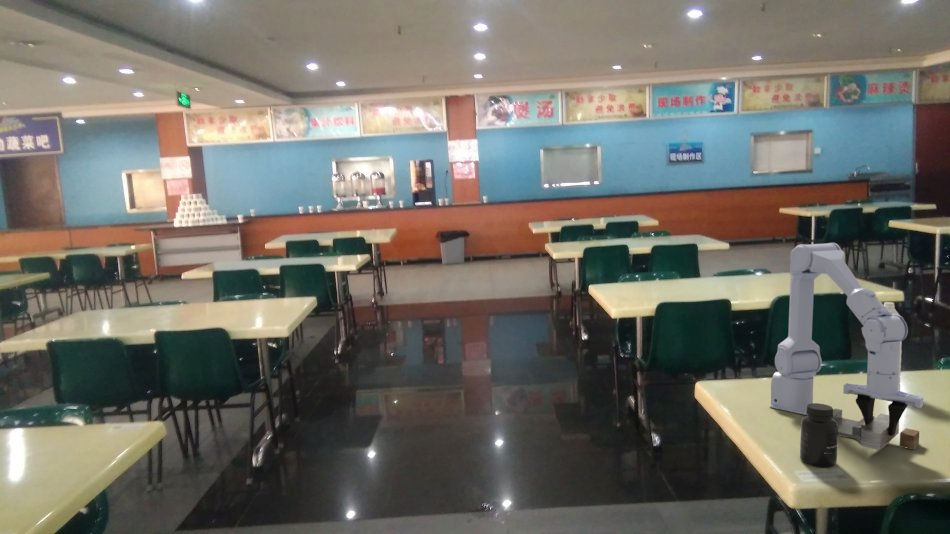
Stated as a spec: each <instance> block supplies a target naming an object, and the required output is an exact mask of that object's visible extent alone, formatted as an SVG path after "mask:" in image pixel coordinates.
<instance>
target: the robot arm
mask: <svg viewBox="0 0 950 534" xmlns="http://www.w3.org/2000/svg"><path fill="white" fill-rule="evenodd" d="M789 255H790V257H789V258H790V260H789V261H790V262H789V275H790V283H789V286H790V287H789V308H788V309H789V310H788V332H787V333H788V334H787V337H786V338H785V339H784V340H783V341H781V342H779V343H778V345H777V352H776V354H775V357H774V366H775V368H776V370H777V371H775V372H774V373H773V375H772V378H771V382H770V404H769V408H772V409H777V410H782V411H785V412H791V413H795V414H800V415H804V416H808V415H807V414H806V411H807V405H808V404H811V403H814V377H817V373H818V372H820V370H821V368H822V363H823V361H822V357H821V356H822V355H821V350H820V349H821V348H820V346H819V344H817V342H815V341H814V340H813V338H812V337H813V317H814V315H813V314H814V311H813V310H814V296H815V295H814V294H815V293H814V292H815V291H814V289H815V279H817V278H818V277H819V276H821V275H822V274H823V275H827V276H828V277H829V278H830V279H831V280H832V281H833V282H834V283H835V284H836V286H837V287H838V288H839V289H841V291H842V292H843V293H844V294H845V295H846V305H847V307H849V310H851V312H852V313H853V314H854V316H855V317H856V318H857V319H858V321H859V323H861V325H862V327H861V332H862V336H863V338H864V341H865V348H866V350H867V364H866V365H867V368H866V370H867V371H866V384H854V383H848V382H847V383H845V384H843V389H842V390H843V392H842V393H843V394H845V395H850V394H851V395H856V398H855V403H856V405H857V407H858V408H859V410H860V412H861V414H862V419H863V418H864V421H865V425H867V424H869V423H870V422H871V421H872V420H873V416H874V408H875V401H876V400H880V401H881V400H882V401H886V402H891V403H890V404H888V405H887V408H888V415H889V429H888V434H889V435H890V436H893V435H894V434H895V431H896V427H897V424H898V422H899V423H900V420H901V417H902V415H903V414H904V412H905V411H906V409H907V408H908V406H913V407H914V408H917V409H921V408H922V407H923V406H924V396H920V395H916V394H911V393H909V392H904V391H901V390H900V391H898V380H899V358H900V341H901V342H902V341H904V340H905V339H906V338H907V336H908V333H909V327H908V324H907V322H906V321H905V318H904V317H903V316H901V315H900V314H899V315H897V314H893V313H892V312H890V311H888V310H887V309H886V307H885V306H884V303H883V302H881V300H880V299H879V298H878V297H877V294H876V293H875V291H874V290H872V289H870V288H863V287H862V285H861V284H860V283H859V281H858V279H857V278H856V277H855V276H854V273H853V271H851V270H850V267H849V266H848V264H846V260H845V259H846V252H845V251H843V250H842V248H841V246H839V244H838V243H836V242H828V243H815V244H814V243H812V244H803V243H802V244H798V245H796V246H795V247H794V248H793V249H792V250H790V254H789Z"/></svg>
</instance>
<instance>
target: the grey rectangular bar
mask: <svg viewBox="0 0 950 534" xmlns="http://www.w3.org/2000/svg"><path fill="white" fill-rule="evenodd" d="M888 429H889V414H884V413H880V414H878V415H877V416H876V417H875V419H874V420H872V421H871V422H870V423H869V424H867V425H866V426H865V427H864V428H862V429H861V440H860V447H864V448H868V449H872V450H873V449H874V450H877V451H882V449H883V448H884V447H885V446H887V445H888V444H889V443H890V442H891V441H892V440H893V439H894V438H896V436H897V435H898V434H900V432H899V431H900V421H899V422H898V424H897V427H896V431H895V434H894V435H893V436H890V435H889V434H888Z"/></svg>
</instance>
